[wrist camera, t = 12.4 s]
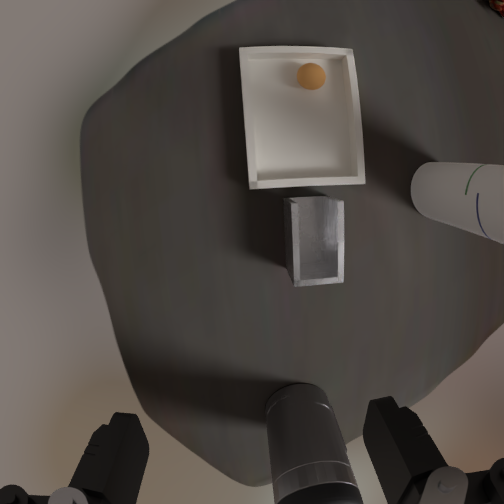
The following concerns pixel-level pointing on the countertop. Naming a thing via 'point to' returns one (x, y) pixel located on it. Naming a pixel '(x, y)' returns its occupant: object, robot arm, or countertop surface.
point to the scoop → (314, 239)
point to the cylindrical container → (462, 196)
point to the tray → (301, 118)
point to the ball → (311, 76)
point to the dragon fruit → (497, 5)
